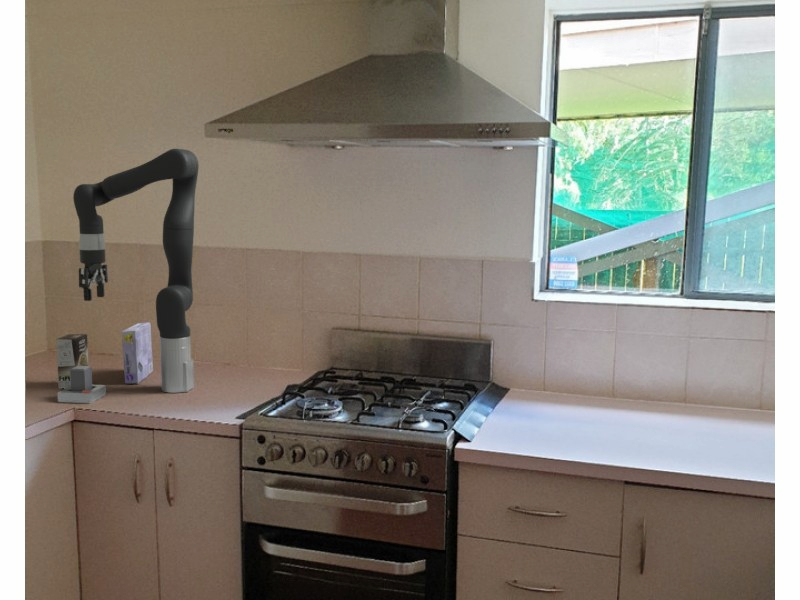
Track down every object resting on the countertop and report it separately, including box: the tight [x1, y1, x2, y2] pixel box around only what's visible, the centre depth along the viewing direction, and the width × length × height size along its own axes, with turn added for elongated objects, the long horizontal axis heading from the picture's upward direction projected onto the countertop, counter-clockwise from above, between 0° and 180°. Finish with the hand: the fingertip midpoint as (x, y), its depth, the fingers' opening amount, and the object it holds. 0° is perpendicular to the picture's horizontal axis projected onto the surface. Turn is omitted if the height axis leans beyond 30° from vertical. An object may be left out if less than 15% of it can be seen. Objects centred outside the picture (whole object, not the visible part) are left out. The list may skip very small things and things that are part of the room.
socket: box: [57, 384, 107, 404], centre depth 233 cm, size 10×10×4 cm
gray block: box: [70, 365, 93, 392], centre depth 232 cm, size 4×4×10 cm
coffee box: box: [56, 333, 89, 389], centre depth 246 cm, size 9×6×16 cm
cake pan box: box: [121, 322, 154, 385], centre depth 258 cm, size 19×5×18 cm, turn 2°
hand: (94, 298), depth 245 cm, fingers open, 8 cm apart
